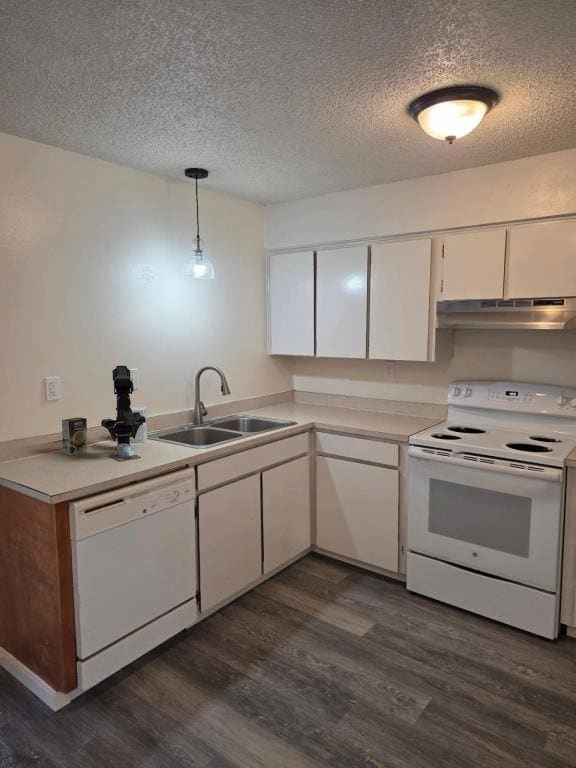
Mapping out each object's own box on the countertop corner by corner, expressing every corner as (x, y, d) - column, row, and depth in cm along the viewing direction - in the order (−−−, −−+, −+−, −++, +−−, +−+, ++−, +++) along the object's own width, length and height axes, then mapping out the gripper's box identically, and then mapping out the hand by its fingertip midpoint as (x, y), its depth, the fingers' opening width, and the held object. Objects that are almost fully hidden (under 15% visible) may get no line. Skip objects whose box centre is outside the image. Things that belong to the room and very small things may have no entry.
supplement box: (147, 438, 266) (147, 407, 264) (144, 442, 257) (144, 409, 255) (129, 438, 265) (128, 407, 263) (125, 442, 256) (124, 410, 254)
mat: (108, 456, 229) (108, 455, 229) (129, 452, 236) (129, 451, 236) (120, 461, 220) (120, 460, 220) (141, 457, 227) (141, 457, 227)
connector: (115, 455, 230) (115, 444, 229) (124, 453, 233) (124, 442, 232) (127, 460, 222) (126, 449, 221) (136, 458, 225) (136, 447, 224)
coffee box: (71, 456, 229) (69, 421, 227) (62, 454, 233) (60, 419, 231) (88, 451, 237) (87, 418, 235) (79, 449, 240) (78, 416, 238)
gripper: (110, 410, 213) (111, 446, 215) (151, 405, 226) (151, 440, 227) (100, 407, 221) (101, 441, 223) (139, 403, 234) (140, 435, 236)
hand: (124, 439), depth 227 cm, fingers open, 9 cm apart
